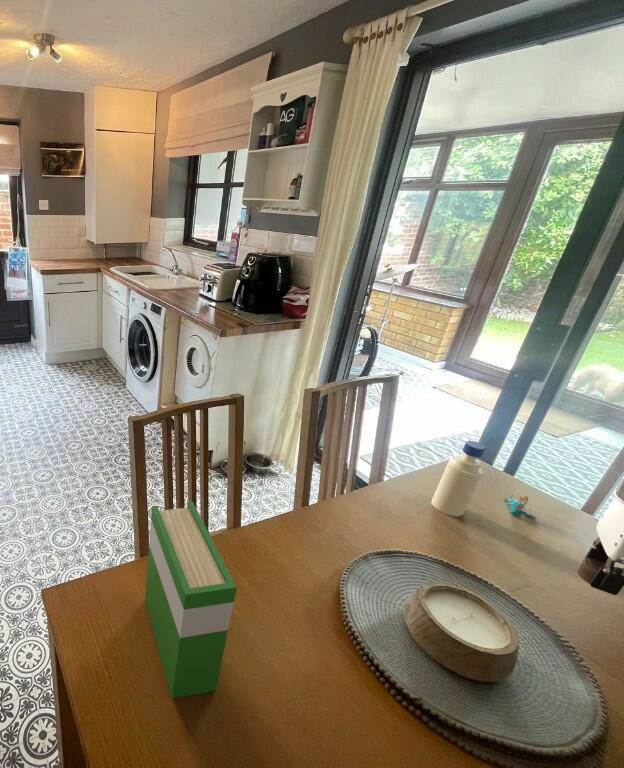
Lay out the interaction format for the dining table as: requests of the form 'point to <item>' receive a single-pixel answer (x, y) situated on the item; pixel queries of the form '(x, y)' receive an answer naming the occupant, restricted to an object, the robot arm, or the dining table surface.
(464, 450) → the bottle
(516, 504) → the dragon figurine
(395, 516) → the dining table surface
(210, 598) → the hardback book
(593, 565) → the chip
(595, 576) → the robot arm
